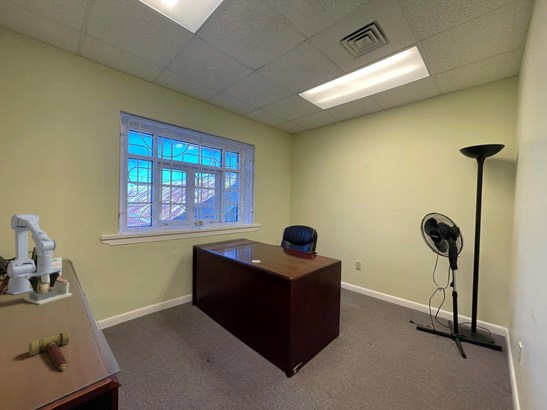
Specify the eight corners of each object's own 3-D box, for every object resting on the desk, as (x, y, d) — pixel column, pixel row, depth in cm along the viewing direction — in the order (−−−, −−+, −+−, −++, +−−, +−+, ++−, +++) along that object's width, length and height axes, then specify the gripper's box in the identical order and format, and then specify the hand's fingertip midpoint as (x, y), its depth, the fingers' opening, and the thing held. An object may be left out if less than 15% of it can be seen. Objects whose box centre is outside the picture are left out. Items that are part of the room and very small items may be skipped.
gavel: (84, 354, 77) (42, 370, 69) (83, 367, 77) (41, 385, 69) (66, 328, 89) (29, 339, 81) (65, 340, 89) (28, 352, 81)
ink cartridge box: (55, 278, 157) (56, 256, 157) (61, 279, 156) (62, 257, 156) (40, 282, 148) (41, 259, 148) (46, 283, 147) (48, 259, 147)
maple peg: (36, 297, 123) (36, 284, 123) (45, 295, 126) (46, 282, 126) (39, 299, 121) (40, 285, 121) (49, 296, 125) (50, 283, 125)
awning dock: (24, 299, 122) (25, 283, 122) (56, 291, 135) (57, 276, 135) (39, 304, 117) (40, 287, 117) (72, 295, 130) (72, 280, 130)
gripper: (31, 267, 116) (29, 294, 116) (65, 261, 129) (64, 286, 129) (23, 265, 118) (21, 292, 118) (58, 259, 132) (56, 284, 132)
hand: (43, 288), depth 124 cm, fingers open, 6 cm apart
